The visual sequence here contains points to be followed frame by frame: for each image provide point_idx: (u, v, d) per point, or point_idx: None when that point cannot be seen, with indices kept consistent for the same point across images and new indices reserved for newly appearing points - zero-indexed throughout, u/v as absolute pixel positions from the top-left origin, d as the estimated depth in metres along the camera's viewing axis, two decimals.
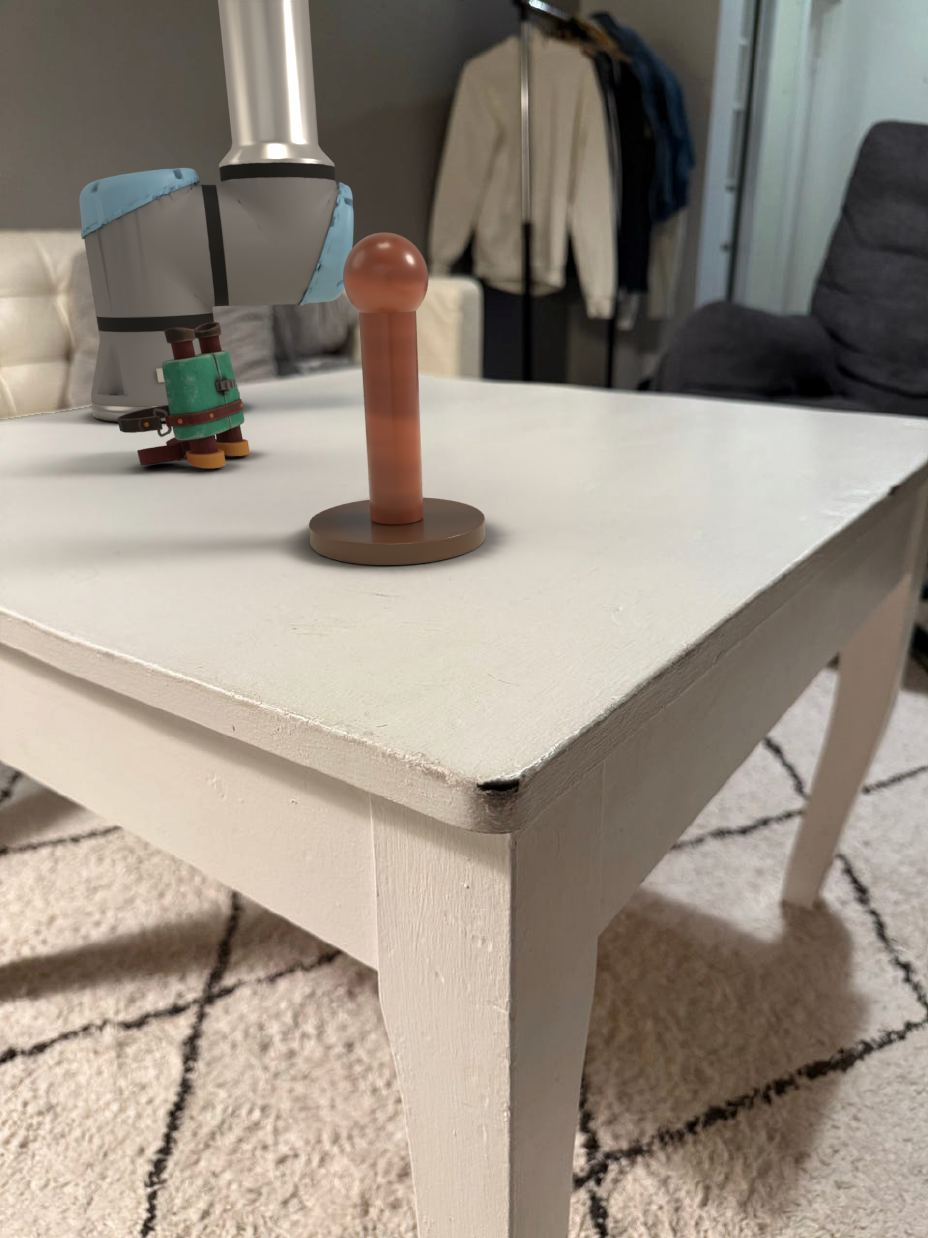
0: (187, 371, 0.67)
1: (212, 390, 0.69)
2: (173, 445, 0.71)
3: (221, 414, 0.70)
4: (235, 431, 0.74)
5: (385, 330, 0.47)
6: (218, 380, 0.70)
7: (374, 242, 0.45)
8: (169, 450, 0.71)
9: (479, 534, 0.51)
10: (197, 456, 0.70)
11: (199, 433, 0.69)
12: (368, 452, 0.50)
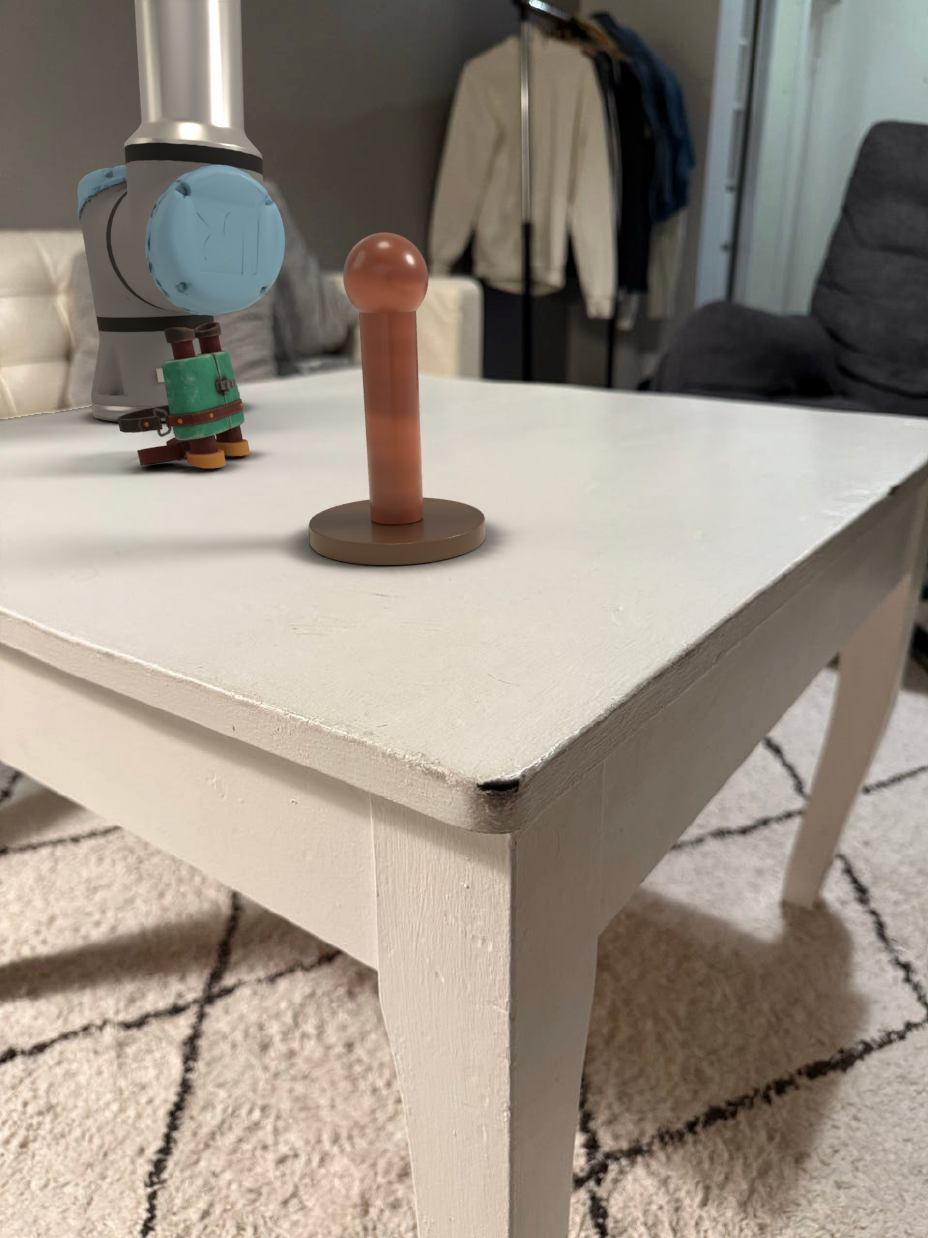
0: (187, 371, 0.67)
1: (212, 390, 0.69)
2: (173, 445, 0.71)
3: (221, 414, 0.70)
4: (235, 431, 0.74)
5: (385, 330, 0.47)
6: (218, 380, 0.70)
7: (374, 242, 0.45)
8: (169, 450, 0.71)
9: (479, 534, 0.51)
10: (197, 456, 0.70)
11: (199, 433, 0.69)
12: (368, 452, 0.50)
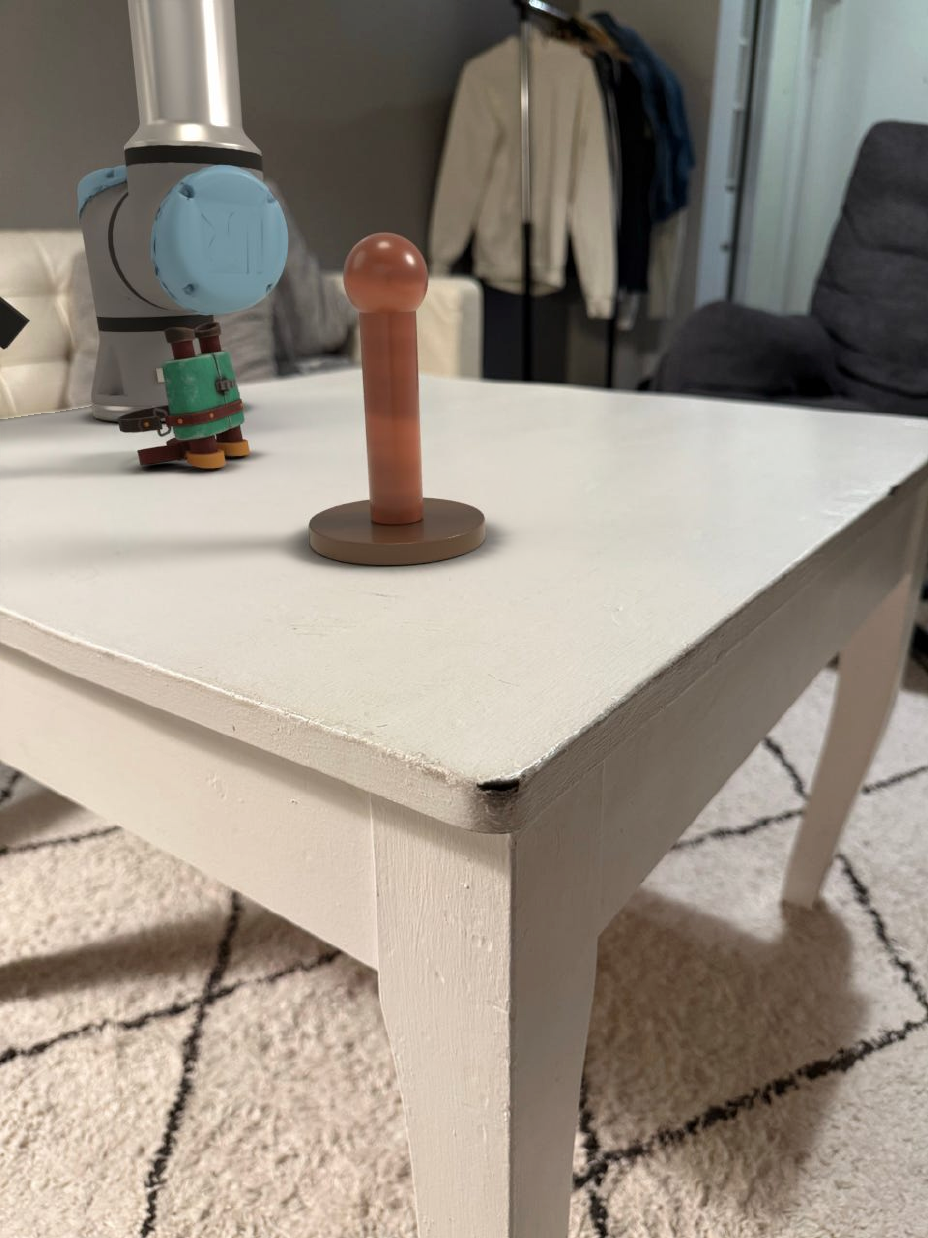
0: (187, 371, 0.67)
1: (212, 390, 0.69)
2: (173, 445, 0.71)
3: (221, 414, 0.70)
4: (235, 431, 0.74)
5: (385, 330, 0.47)
6: (218, 380, 0.70)
7: (374, 242, 0.45)
8: (169, 450, 0.71)
9: (479, 534, 0.51)
10: (197, 456, 0.70)
11: (199, 433, 0.69)
12: (368, 452, 0.50)
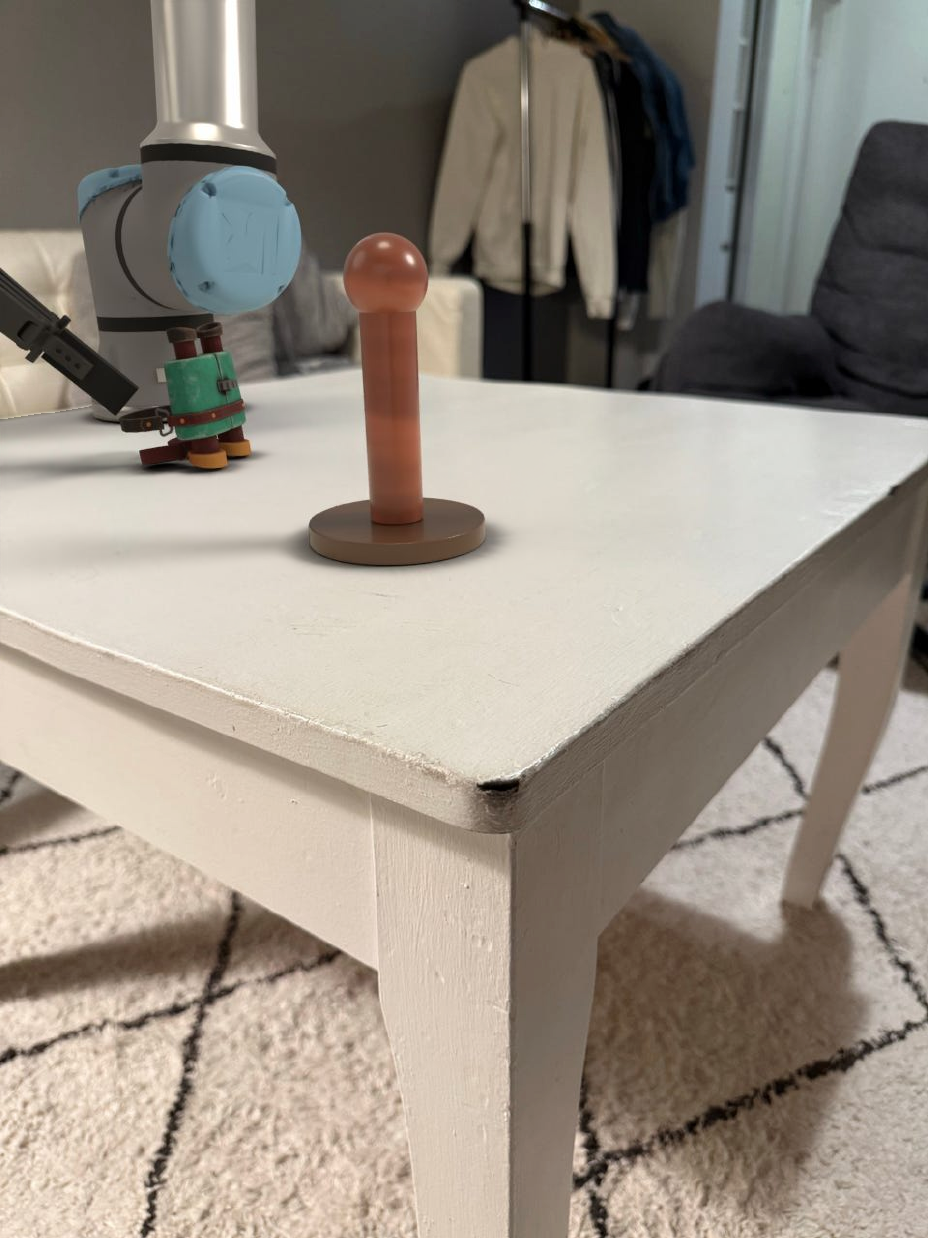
0: (189, 371, 0.67)
1: (214, 390, 0.69)
2: (175, 445, 0.71)
3: (223, 414, 0.70)
4: (236, 431, 0.74)
5: (385, 330, 0.47)
6: (220, 380, 0.70)
7: (374, 242, 0.45)
8: (171, 450, 0.71)
9: (479, 534, 0.51)
10: (199, 456, 0.70)
11: (201, 433, 0.69)
12: (368, 452, 0.50)
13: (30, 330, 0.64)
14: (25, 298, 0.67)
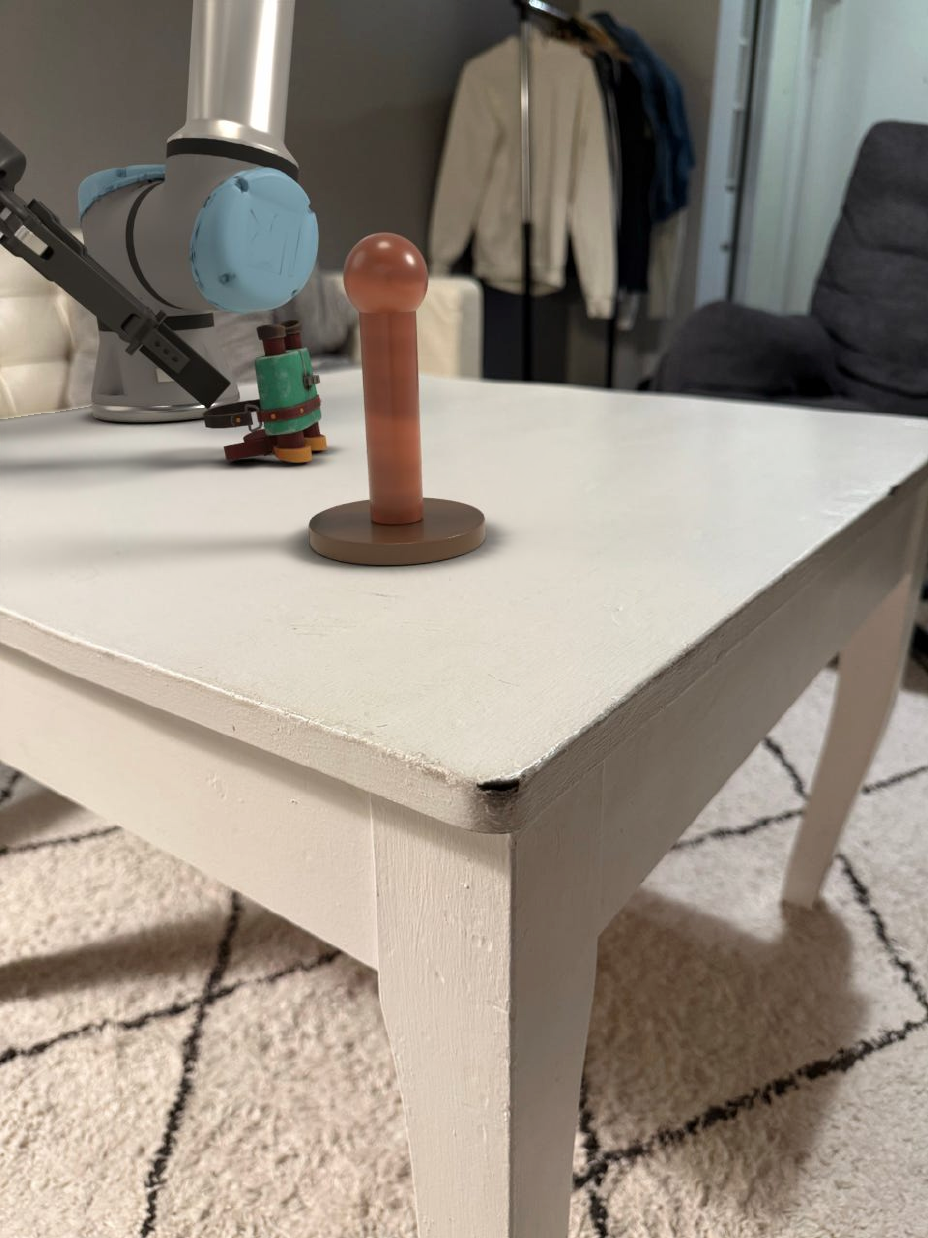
0: (281, 367, 0.69)
1: (301, 386, 0.71)
2: (261, 440, 0.72)
3: (308, 409, 0.72)
4: (314, 426, 0.75)
5: (385, 330, 0.47)
6: (304, 376, 0.72)
7: (374, 242, 0.45)
8: (257, 445, 0.72)
9: (479, 534, 0.51)
10: (287, 450, 0.71)
11: (291, 428, 0.70)
12: (368, 452, 0.50)
13: (133, 323, 0.65)
14: (125, 292, 0.69)
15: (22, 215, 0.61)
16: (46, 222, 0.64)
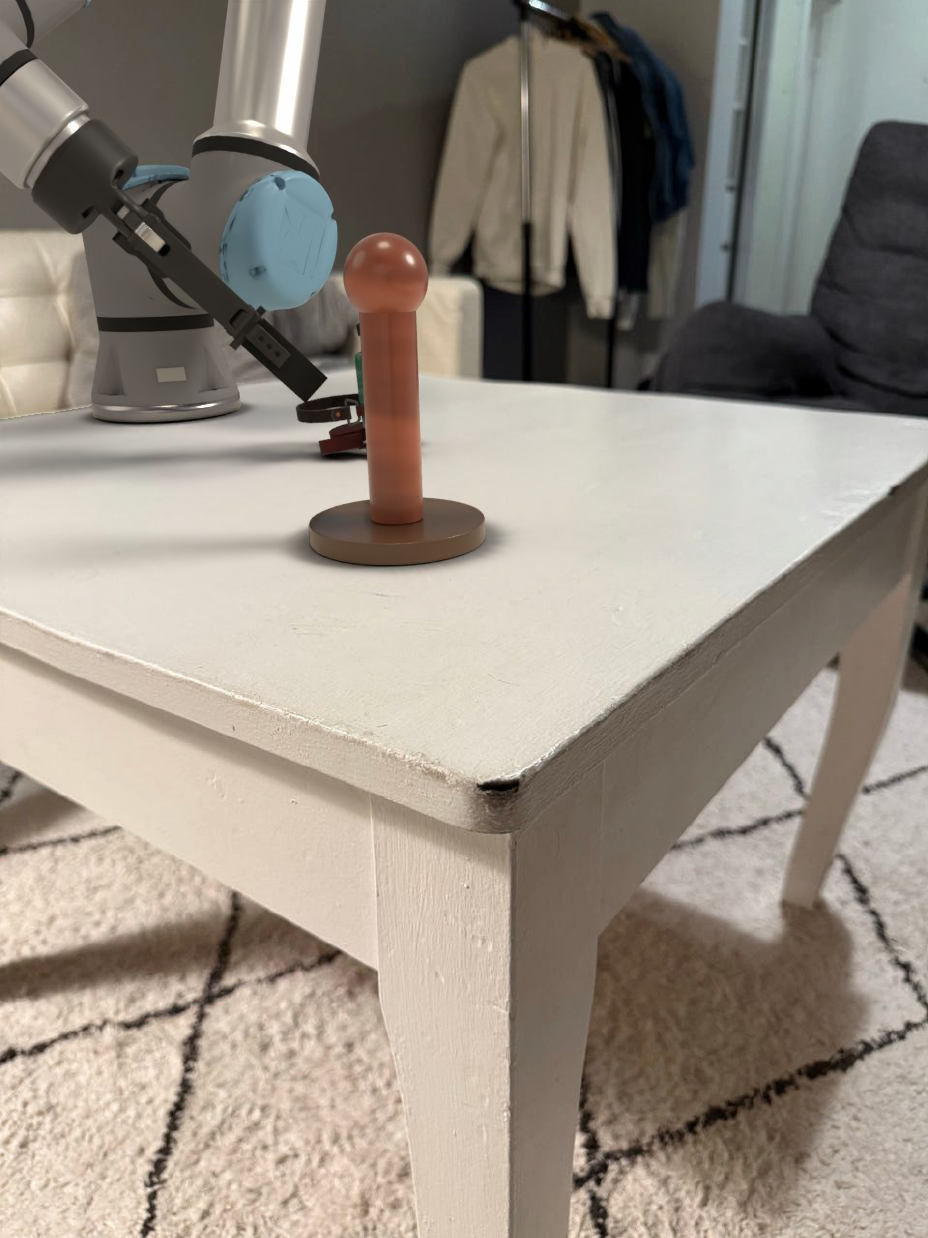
0: None
1: None
2: (356, 434, 0.74)
3: None
4: None
5: (385, 330, 0.47)
6: None
7: (374, 242, 0.45)
8: (354, 439, 0.73)
9: (479, 534, 0.51)
10: None
11: None
12: (368, 452, 0.50)
13: (241, 318, 0.67)
14: None
15: (140, 213, 0.63)
16: None
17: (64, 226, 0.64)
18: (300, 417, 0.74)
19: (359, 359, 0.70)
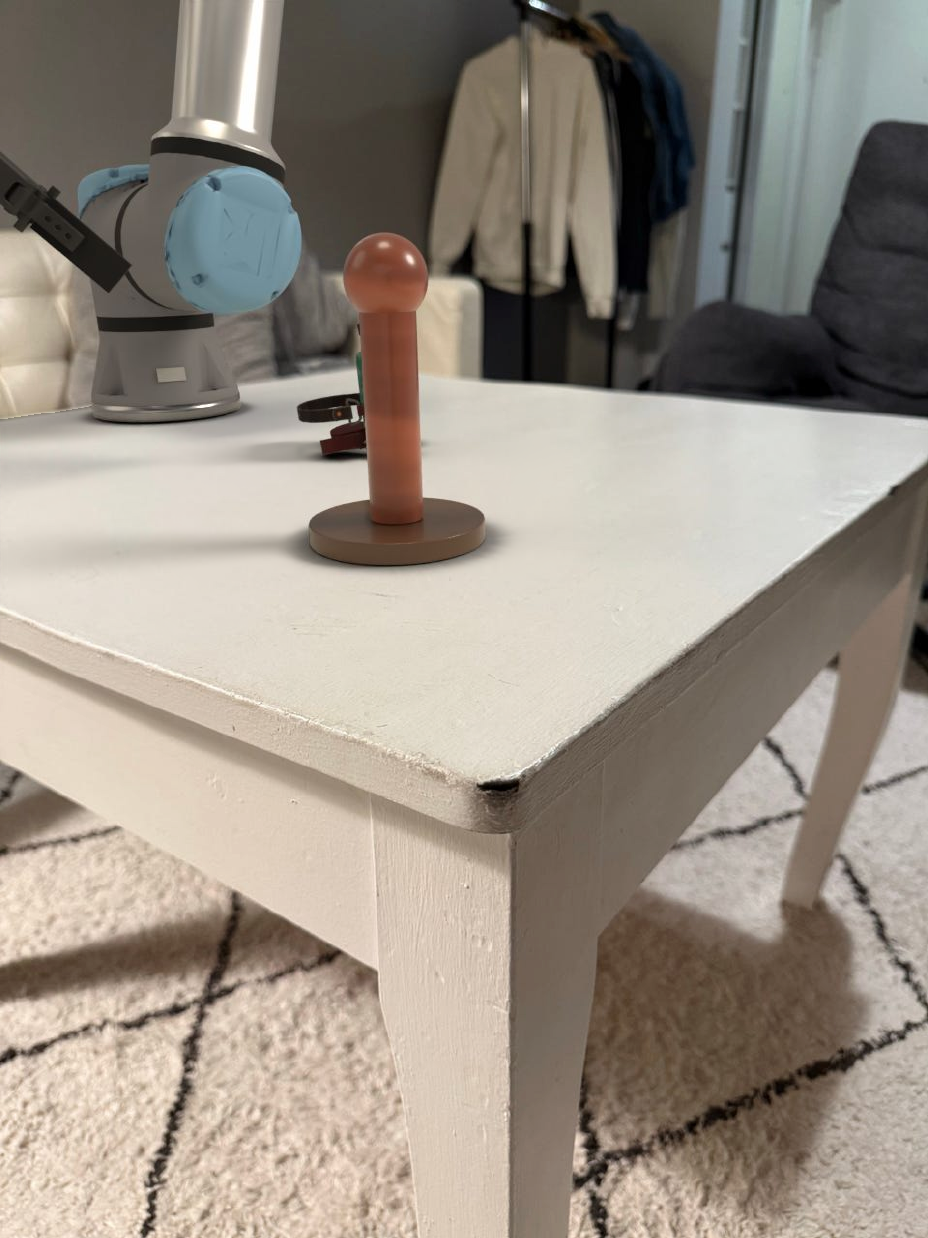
0: None
1: None
2: (358, 434, 0.74)
3: None
4: None
5: (385, 330, 0.47)
6: None
7: (374, 242, 0.45)
8: (355, 439, 0.74)
9: (479, 534, 0.51)
10: None
11: None
12: (368, 452, 0.50)
13: (18, 192, 0.62)
14: (12, 165, 0.65)
15: None
16: None
17: None
18: (301, 417, 0.74)
19: (360, 359, 0.71)
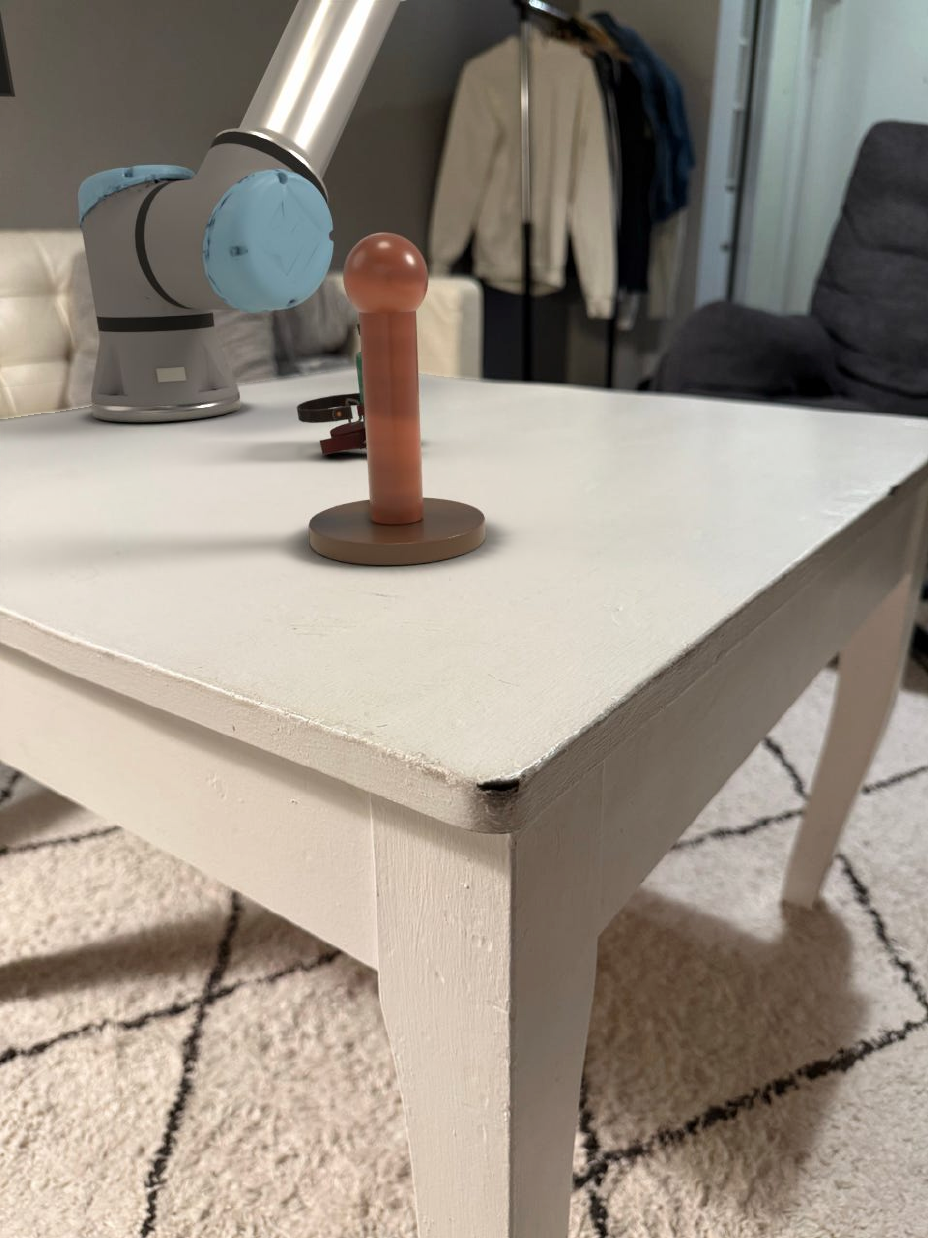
0: None
1: None
2: (358, 434, 0.74)
3: None
4: None
5: (385, 330, 0.47)
6: None
7: (374, 242, 0.45)
8: (355, 439, 0.74)
9: (479, 534, 0.51)
10: None
11: None
12: (368, 452, 0.50)
13: None
14: None
15: None
16: None
17: None
18: (301, 417, 0.74)
19: (360, 359, 0.71)
